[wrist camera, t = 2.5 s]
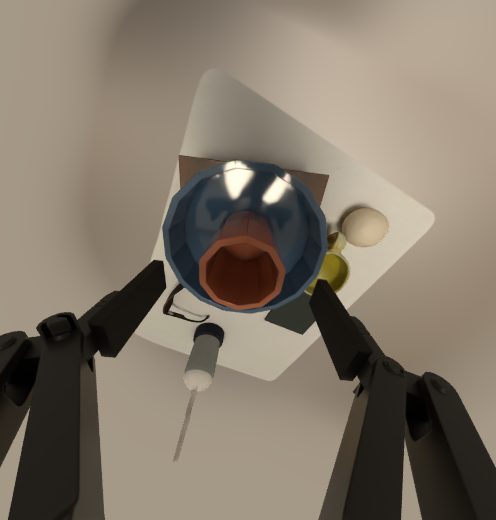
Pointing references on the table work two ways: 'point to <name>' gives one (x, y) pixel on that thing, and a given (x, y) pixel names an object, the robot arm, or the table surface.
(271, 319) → the mat
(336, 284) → the mug
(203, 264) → the cup
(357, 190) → the table surface
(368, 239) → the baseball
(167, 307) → the sunglasses
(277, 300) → the bowl
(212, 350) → the humidifier
